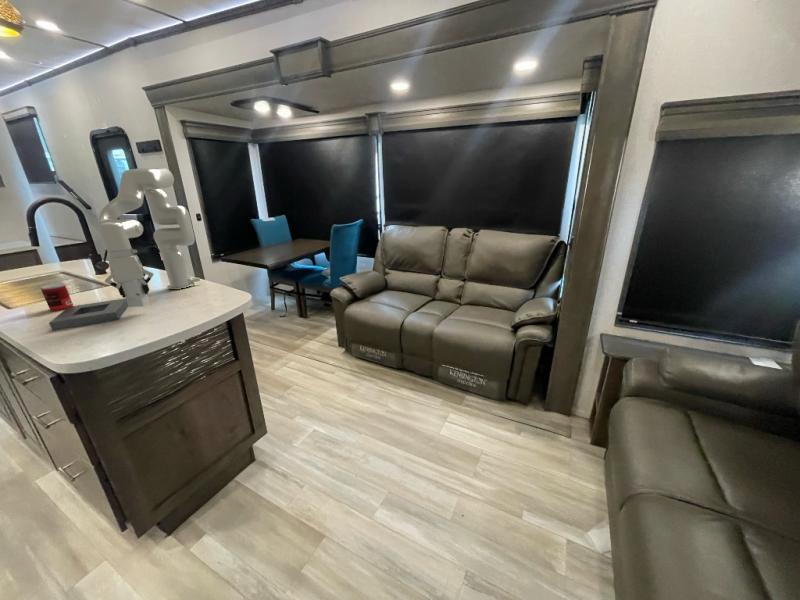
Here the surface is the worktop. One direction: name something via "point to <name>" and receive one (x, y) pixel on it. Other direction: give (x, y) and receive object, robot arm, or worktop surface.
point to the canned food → (57, 296)
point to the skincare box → (134, 293)
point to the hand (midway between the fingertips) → (135, 294)
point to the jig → (89, 314)
